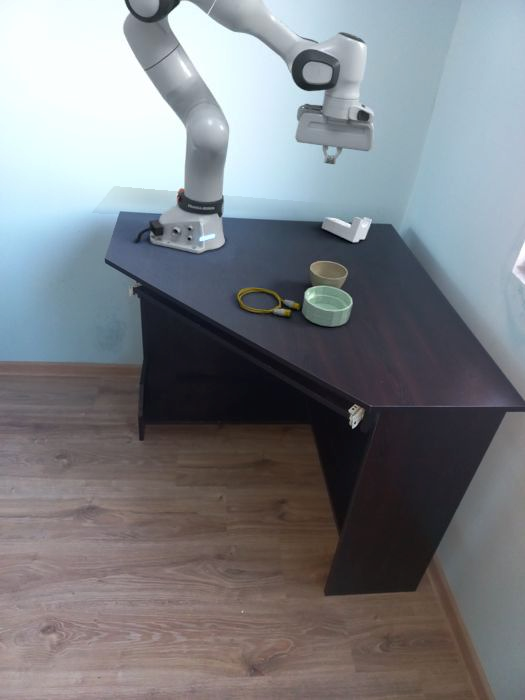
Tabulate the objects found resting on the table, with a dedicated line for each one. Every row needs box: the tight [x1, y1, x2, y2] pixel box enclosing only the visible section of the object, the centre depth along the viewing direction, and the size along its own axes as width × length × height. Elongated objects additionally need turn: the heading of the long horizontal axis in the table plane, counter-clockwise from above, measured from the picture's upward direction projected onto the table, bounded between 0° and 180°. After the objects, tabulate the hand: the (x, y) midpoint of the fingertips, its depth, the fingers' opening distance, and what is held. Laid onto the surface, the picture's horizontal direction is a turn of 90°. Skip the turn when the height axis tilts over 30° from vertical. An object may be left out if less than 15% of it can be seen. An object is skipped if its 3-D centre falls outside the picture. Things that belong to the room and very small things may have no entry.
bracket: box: [321, 216, 373, 243], centre depth 176 cm, size 13×7×8 cm, turn 46°
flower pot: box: [309, 260, 349, 289], centre depth 143 cm, size 10×10×7 cm
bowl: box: [301, 286, 354, 328], centre depth 135 cm, size 12×12×5 cm
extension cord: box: [236, 287, 301, 318], centre depth 136 cm, size 12×16×2 cm
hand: (329, 163), depth 143 cm, fingers closed
